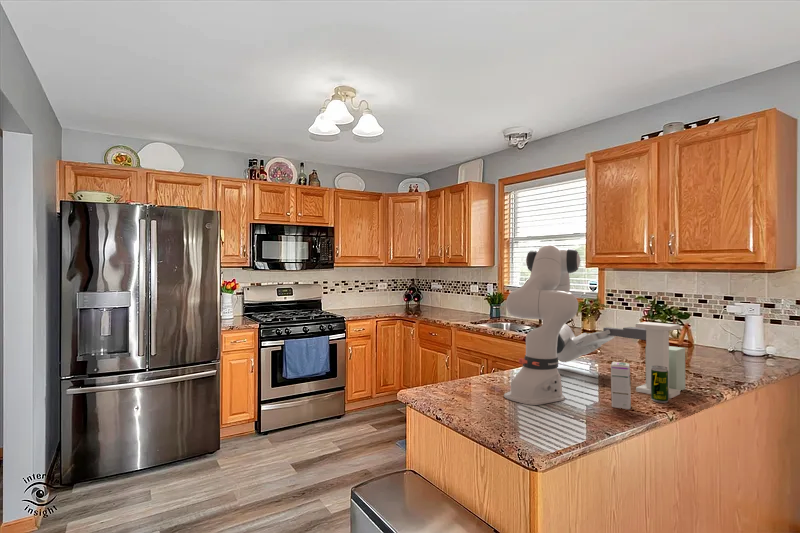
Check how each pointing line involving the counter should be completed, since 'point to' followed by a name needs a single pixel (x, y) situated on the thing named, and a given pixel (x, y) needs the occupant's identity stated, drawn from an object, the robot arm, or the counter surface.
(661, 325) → the tall shelf
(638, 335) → the grey boxy piece
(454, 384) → the counter surface
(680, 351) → the socket block
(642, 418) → the counter surface
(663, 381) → the beer can
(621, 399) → the syrup box
